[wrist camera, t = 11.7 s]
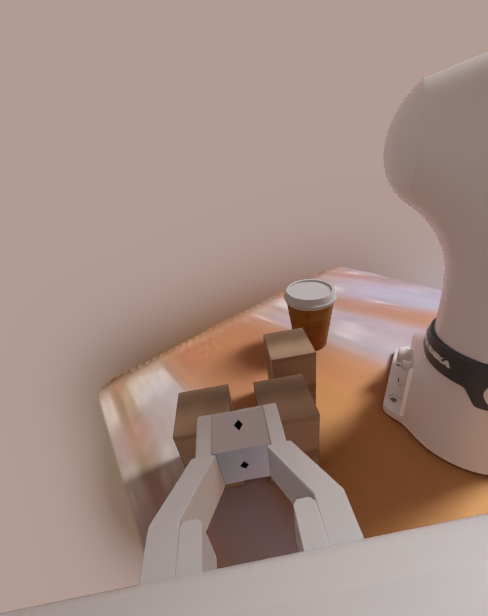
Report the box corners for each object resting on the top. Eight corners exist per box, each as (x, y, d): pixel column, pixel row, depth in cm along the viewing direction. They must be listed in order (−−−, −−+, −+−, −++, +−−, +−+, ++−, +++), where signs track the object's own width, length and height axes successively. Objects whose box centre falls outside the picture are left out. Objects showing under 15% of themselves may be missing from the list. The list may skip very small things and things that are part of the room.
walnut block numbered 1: (318, 475, 33) (319, 414, 27) (270, 484, 33) (261, 425, 27) (303, 430, 38) (301, 372, 33) (261, 437, 38) (252, 380, 33)
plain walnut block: (245, 485, 33) (231, 426, 28) (196, 494, 33) (172, 437, 27) (240, 440, 38) (227, 384, 33) (198, 448, 38) (178, 393, 33)
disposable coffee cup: (303, 323, 61) (302, 274, 55) (343, 337, 55) (346, 284, 49) (277, 344, 56) (273, 293, 50) (318, 363, 50) (319, 306, 44)
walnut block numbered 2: (315, 408, 41) (315, 352, 36) (277, 415, 41) (271, 359, 36) (303, 379, 47) (301, 326, 41) (269, 385, 46) (263, 333, 41)
